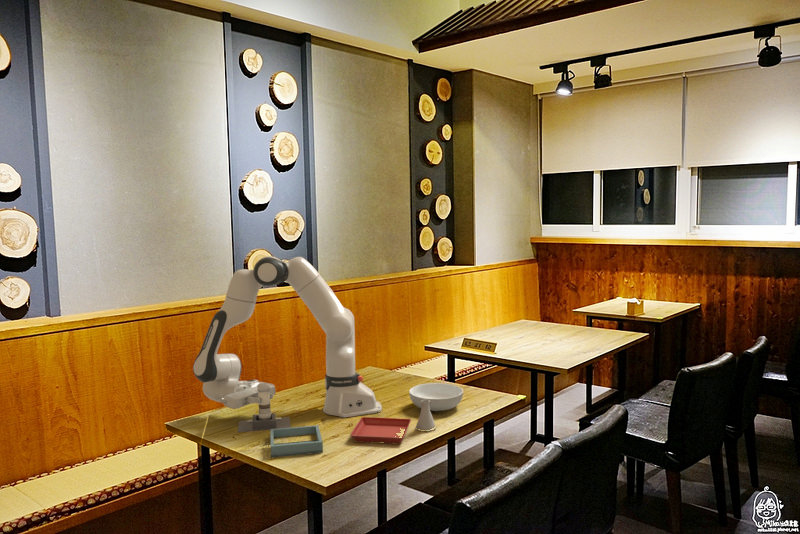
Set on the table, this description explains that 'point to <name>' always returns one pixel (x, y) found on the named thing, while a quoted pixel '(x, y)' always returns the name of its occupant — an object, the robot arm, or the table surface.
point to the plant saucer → (379, 429)
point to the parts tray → (296, 447)
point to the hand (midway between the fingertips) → (266, 398)
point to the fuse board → (264, 423)
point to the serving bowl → (437, 395)
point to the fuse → (264, 401)
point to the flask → (425, 417)
